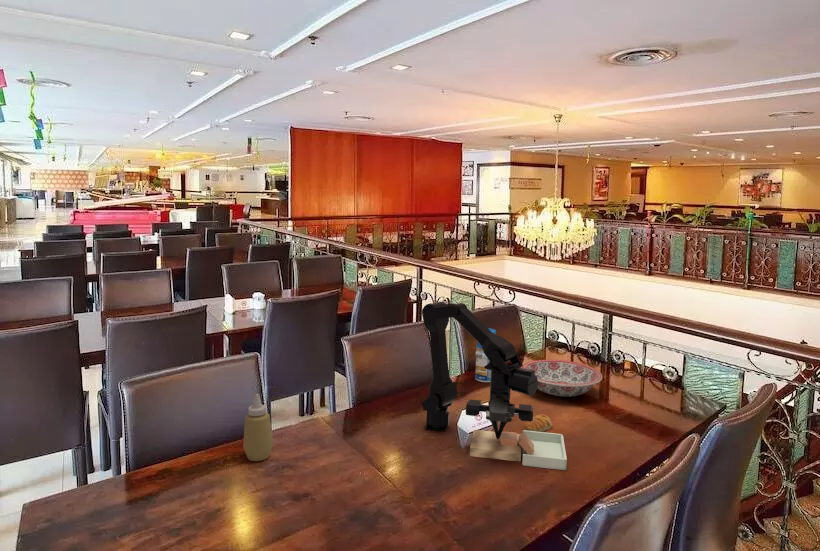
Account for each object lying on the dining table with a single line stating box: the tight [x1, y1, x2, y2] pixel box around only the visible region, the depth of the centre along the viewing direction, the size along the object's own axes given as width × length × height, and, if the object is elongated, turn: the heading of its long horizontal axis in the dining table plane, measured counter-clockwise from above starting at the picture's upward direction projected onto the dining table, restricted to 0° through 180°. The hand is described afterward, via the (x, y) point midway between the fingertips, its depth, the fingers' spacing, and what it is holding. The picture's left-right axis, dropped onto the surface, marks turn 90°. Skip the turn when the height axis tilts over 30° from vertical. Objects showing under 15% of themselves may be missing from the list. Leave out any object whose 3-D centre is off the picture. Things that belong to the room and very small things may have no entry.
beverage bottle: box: [474, 327, 497, 383], centre depth 216 cm, size 8×8×20 cm
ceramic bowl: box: [520, 359, 603, 397], centre depth 204 cm, size 29×29×8 cm
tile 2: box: [518, 431, 534, 455], centre depth 156 cm, size 4×4×2 cm
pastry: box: [524, 414, 553, 432], centre depth 173 cm, size 9×7×4 cm
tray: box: [521, 429, 568, 471], centre depth 156 cm, size 12×16×3 cm
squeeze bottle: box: [242, 393, 274, 462], centre depth 150 cm, size 8×8×18 cm
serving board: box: [469, 429, 522, 463], centre depth 158 cm, size 14×12×2 cm
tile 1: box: [501, 431, 518, 446], centre depth 157 cm, size 4×4×2 cm
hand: (498, 438), depth 158 cm, fingers closed
